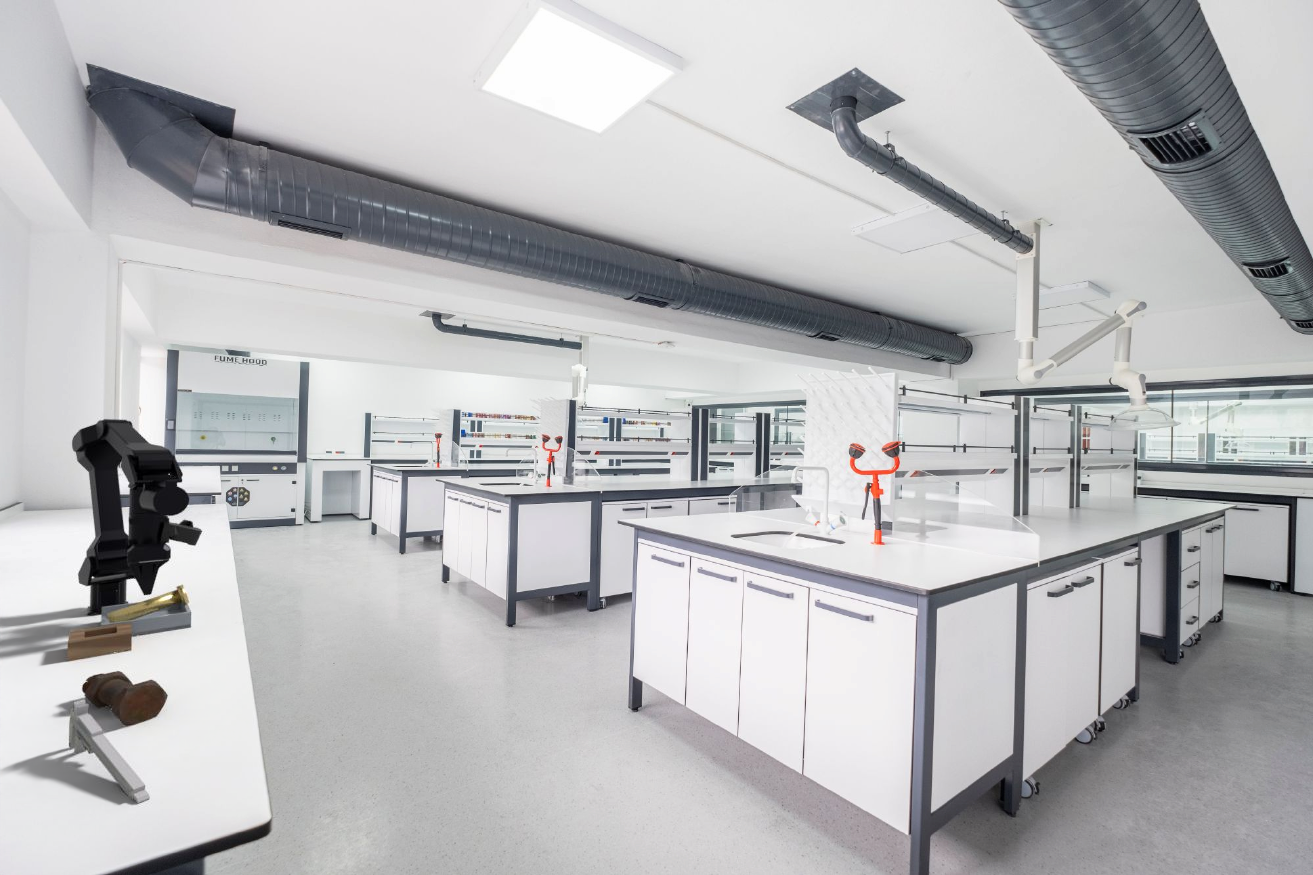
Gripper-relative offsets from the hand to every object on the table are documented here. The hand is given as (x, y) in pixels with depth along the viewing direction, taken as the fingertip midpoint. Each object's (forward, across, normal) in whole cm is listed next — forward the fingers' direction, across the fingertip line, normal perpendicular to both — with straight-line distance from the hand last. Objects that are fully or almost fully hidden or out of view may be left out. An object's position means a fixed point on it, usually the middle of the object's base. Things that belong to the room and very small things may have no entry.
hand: (146, 589), depth 117 cm
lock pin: (+5, 0, +5) cm, 7 cm away
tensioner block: (+7, -12, +6) cm, 15 cm away
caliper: (+7, -63, +6) cm, 64 cm away
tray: (+7, 0, 0) cm, 7 cm away
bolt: (+7, -44, +4) cm, 45 cm away
